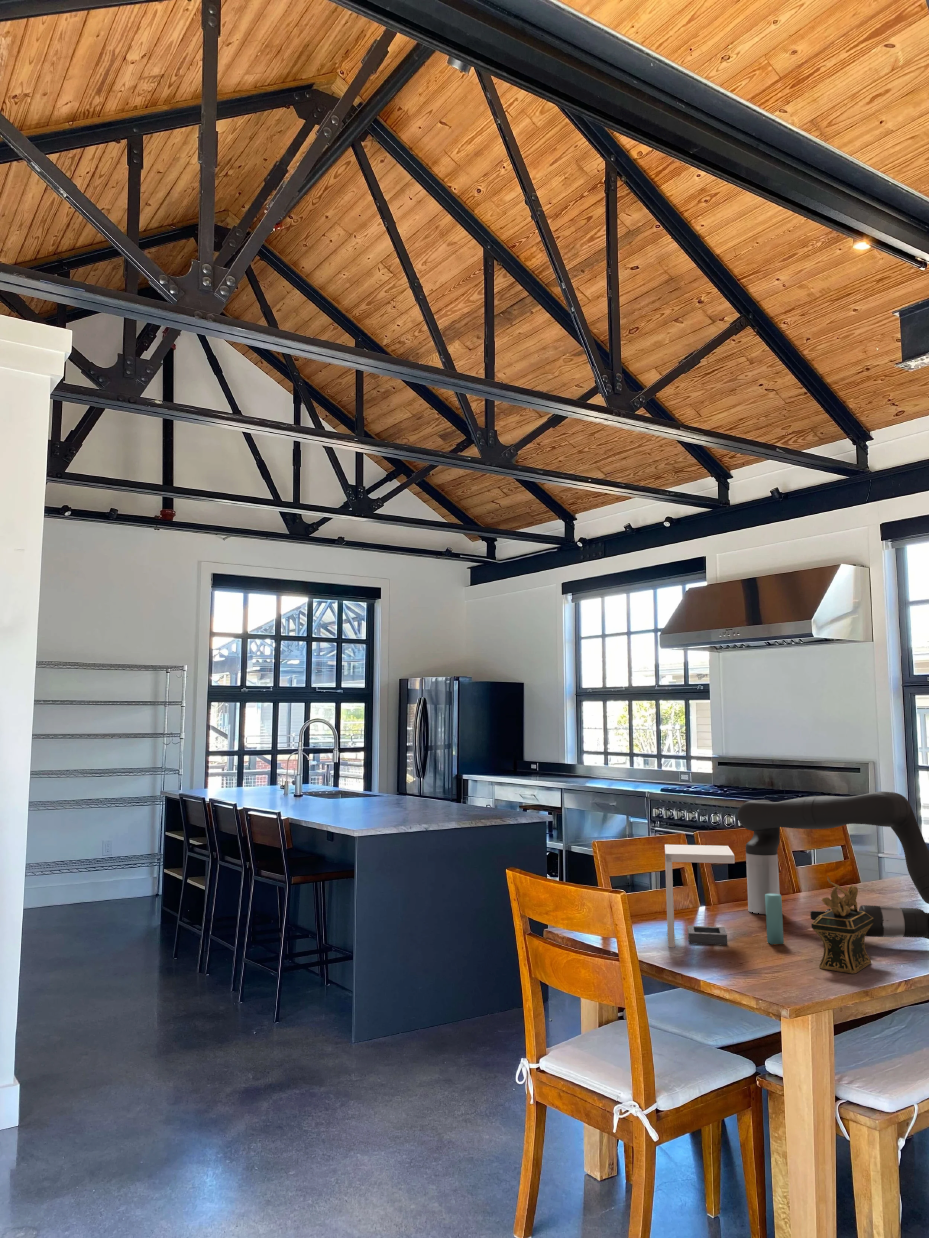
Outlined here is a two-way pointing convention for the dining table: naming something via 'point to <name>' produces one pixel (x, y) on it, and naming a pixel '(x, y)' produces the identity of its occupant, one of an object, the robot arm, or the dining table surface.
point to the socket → (707, 935)
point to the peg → (774, 918)
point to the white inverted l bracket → (689, 855)
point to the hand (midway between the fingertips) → (813, 918)
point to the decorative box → (843, 932)
